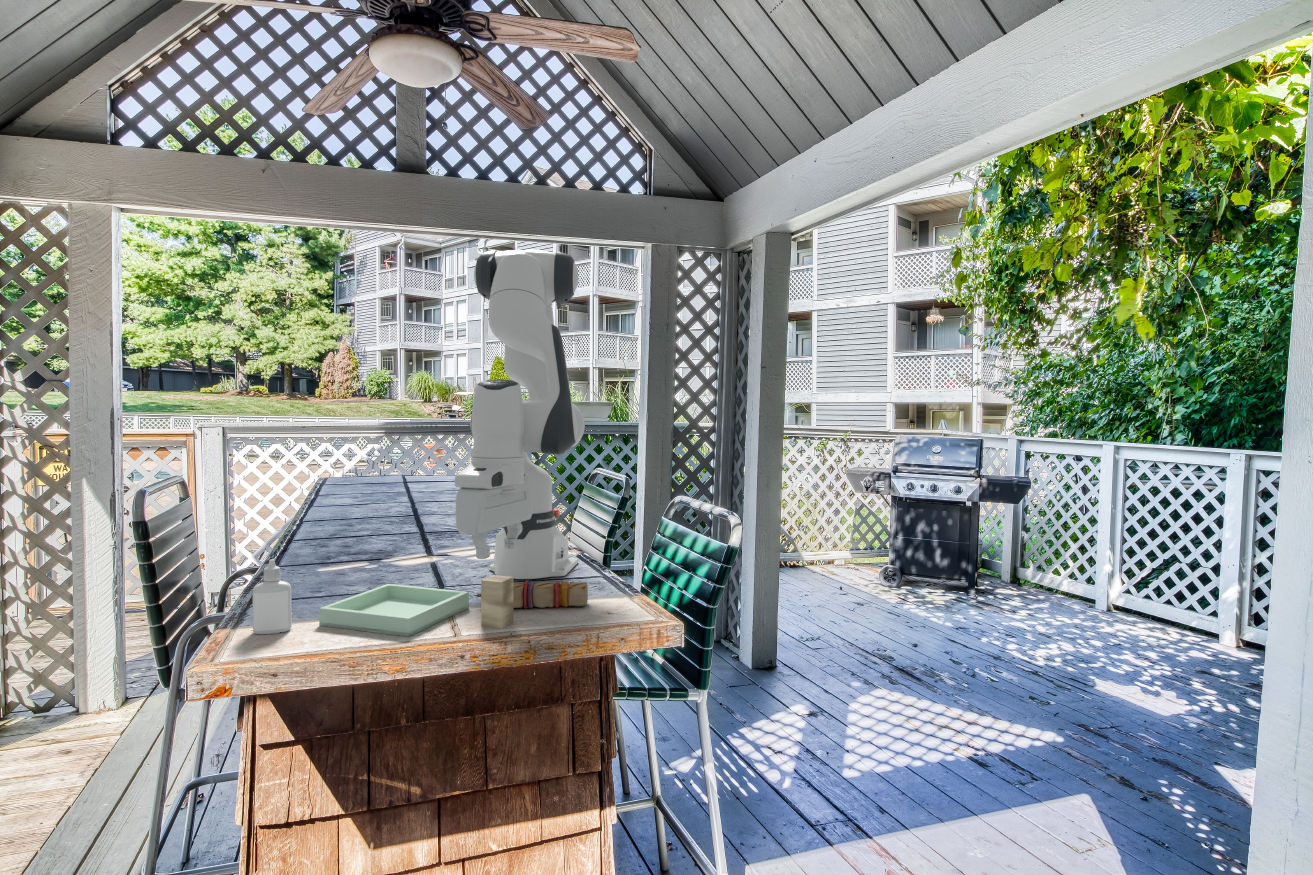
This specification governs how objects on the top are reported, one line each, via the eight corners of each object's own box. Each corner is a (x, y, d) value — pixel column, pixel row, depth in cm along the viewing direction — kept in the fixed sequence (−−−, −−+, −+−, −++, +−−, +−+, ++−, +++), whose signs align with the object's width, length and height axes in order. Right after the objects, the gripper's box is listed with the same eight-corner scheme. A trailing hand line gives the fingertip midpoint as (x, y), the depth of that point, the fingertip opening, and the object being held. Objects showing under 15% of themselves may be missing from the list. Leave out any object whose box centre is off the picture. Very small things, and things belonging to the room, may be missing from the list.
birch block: (493, 619, 128) (493, 574, 128) (513, 621, 127) (513, 576, 127) (481, 626, 124) (481, 580, 124) (501, 628, 123) (502, 582, 123)
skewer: (587, 601, 141) (587, 576, 141) (587, 611, 135) (587, 584, 135) (479, 603, 139) (479, 577, 139) (474, 612, 133) (474, 585, 133)
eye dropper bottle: (279, 636, 118) (278, 563, 117) (248, 634, 118) (247, 561, 118) (296, 628, 122) (295, 557, 121) (266, 626, 123) (265, 556, 122)
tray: (388, 598, 141) (387, 583, 141) (468, 607, 135) (469, 591, 135) (319, 625, 124) (319, 608, 123) (409, 636, 118) (408, 618, 118)
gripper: (510, 468, 135) (510, 541, 136) (448, 477, 116) (448, 563, 116) (541, 469, 133) (540, 543, 134) (483, 479, 114) (482, 566, 114)
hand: (497, 552), depth 125 cm, fingers open, 8 cm apart
